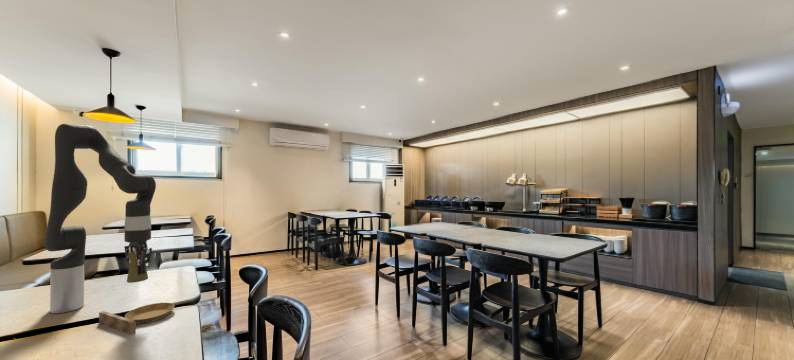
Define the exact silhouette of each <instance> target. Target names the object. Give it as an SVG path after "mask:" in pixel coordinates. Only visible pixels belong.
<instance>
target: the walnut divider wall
mask: <svg viewBox="0 0 794 360" xmlns="http://www.w3.org/2000/svg"><path fill="white" fill-rule="evenodd" d="M98 324H100V325H103V326H106V327H109V328H112V329H113V330H114V329H115V330H118V331H120V332H123V333H126V334H129V335H134V334H136V329H137V328H136V324H137V323H136V321H134V320H130V319H127V318H125V316H124V317H123V316H121V315H118V314H114V313H111V312H107V311H105V310H103V311H98Z"/></svg>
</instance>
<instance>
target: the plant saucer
mask: <svg viewBox="0 0 794 360" xmlns="http://www.w3.org/2000/svg"><path fill="white" fill-rule="evenodd" d="M174 308H175V304H174V303H172V302H157V303H150V304H145V305H143V306H139V307H136V308H134V309H132V310H130V311H128V312H127V313H126V314H125V315H124V318H127V319H130V320H134V321H136V324H149V323H152V322H155V321H158V320H161V319H164V318H165V317H167V316H168V315H170V313H171V312H172V310H174Z"/></svg>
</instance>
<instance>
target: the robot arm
mask: <svg viewBox="0 0 794 360" xmlns="http://www.w3.org/2000/svg"><path fill="white" fill-rule="evenodd" d="M77 149H80V150H82V149H84V150H88V149H90V150H92V151H94V152H96V153H97V154H98V165H99V166H100V167H101V169H102V170H104V171H105V172H106V173H107V174H108V175H110V176H111V177H112V178H113V180H114V182H115V183H116V186H117V187H118V188H119V190H121V191H122V192H124V193H126V194H128V195H129V194H131V195H132V194H137V195H136V197H135V198H134V199H131V200H128V201H127V202H126V203H125V212H124V213H125V214H124V215H125V218H124V219H125V220H124V240H123V241H124V242H125V243H128V245H124V254H125V258H126V259H125V260H126V262H129V264H130V259H129V258H128V255H129V253H130V252H132V251H133V252H134V253H135V259H137V264H138V265H137V267H138V275H140V274H145V264H146V265H147V264H149V263H151V256H152V251H153V248H152V247H148V244H147V243H148V242H147V241H150V240H151V239H152V219H151V204H152V202H153V198H154V195H155V192H156V188H157V183H156V180H155V178H154V177H153V176H152V175H150V174H149V175H148V174H135V173H136V168H135V167H134V166H133V165H132V164H131V163H129V162H128V161H127V160H126V159H125V158H123V157H122V156H121V155H120V154H119V153H118V152H117V151H116V150H115V149H114V148H113V147H112V145H111V144H110V143H109V142H108V140H107V139H106V138H105V137H104V135H103V134H102V133H101V132H100V131H99V130H98V129H97V128H95V127H93V126H92V125H86V124H76V123H75V124H73V123H62V124H60V125H58V126H57V128H56V129H55V133H54V169H53V170H54V172H53V179H52V185H51V192H50V193H51V194H50V211H49V216H48V220H47V225H46V229H45V230H46V231H45V235H44V247H45V249H46V251H47V252H60V251H69V250H70V251H69V252H68V253H66V254H65V255H63V256H59V257H58V258H55V259H53V260H52V261H51V262H50V271H49V272H50V289H49V291H50V292H49V295H50V296H49V297H50V298H49V299H50V300H49V301H50V302H49V313H51V314H62V313H68V312H72V311H75V310H78V309H80V308H83V307H84V306H85V257H86V243H87V232H86V229H85V227H84V226H82V225H71V226H63V224H64V223H65V221H66V219H67V218H68V216H70V214H71V213H72V212H74V210H76V209H77V208H78V207H79V206H80V205H81V204H82V203H83V201H85V199H86V197H87V191H88V179H87V177H86V175H85V174H84V173H83V172H82V171H81V169H80V168H79V167H78V165H77V163H76V161H75V150H77ZM138 254H139V255H140V254H142V255H141V256H138ZM140 258H141V260H140Z"/></svg>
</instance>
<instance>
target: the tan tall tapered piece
mask: <svg viewBox="0 0 794 360" xmlns="http://www.w3.org/2000/svg"><path fill="white" fill-rule="evenodd" d="M141 255H142V254H140V255H139V254H138V256H141ZM128 258H129V259H130V263H129V267H128V271H127V278H126V283H129V284H131V283H132V284H133V283H134V284H135V283H140V282H144V281H146V280H148V279H149V275H148V270H147V264H145V274H140V275H138V267H137V265H138V264H137V259H135V253H134V252H133V251H132V252H130V253H129V255H128ZM140 260H141V258H140Z"/></svg>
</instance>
